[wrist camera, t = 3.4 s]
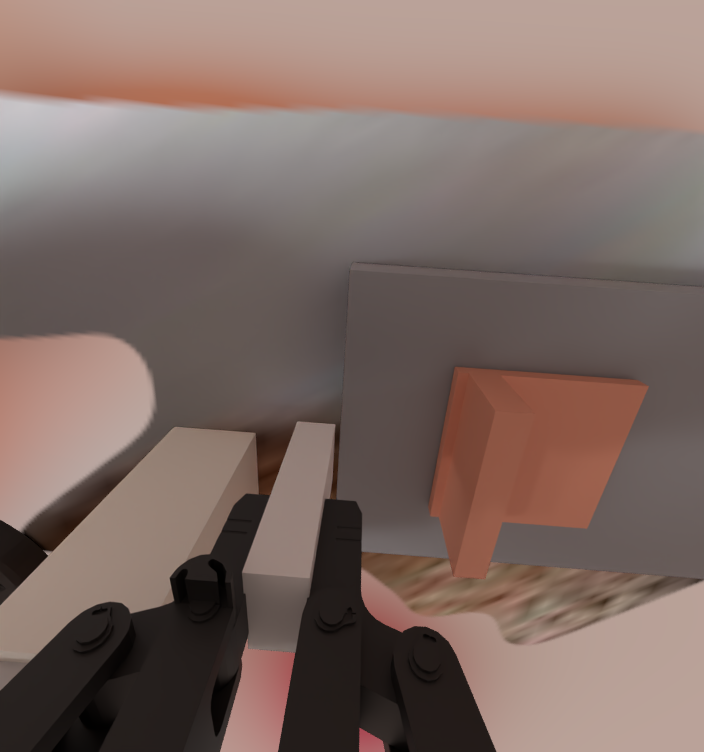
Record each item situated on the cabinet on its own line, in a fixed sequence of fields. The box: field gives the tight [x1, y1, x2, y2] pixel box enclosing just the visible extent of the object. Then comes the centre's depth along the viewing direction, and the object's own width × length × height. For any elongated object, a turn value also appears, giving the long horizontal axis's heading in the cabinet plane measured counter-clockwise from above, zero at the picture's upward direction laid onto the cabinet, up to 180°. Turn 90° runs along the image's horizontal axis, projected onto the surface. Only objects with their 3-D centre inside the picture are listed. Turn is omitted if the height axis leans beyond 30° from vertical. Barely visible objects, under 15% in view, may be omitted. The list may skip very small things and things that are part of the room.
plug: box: [0, 427, 259, 690], centre depth 15 cm, size 4×4×12 cm
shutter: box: [428, 367, 649, 579], centre depth 14 cm, size 7×7×4 cm
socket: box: [336, 263, 704, 579], centre depth 17 cm, size 20×14×3 cm
